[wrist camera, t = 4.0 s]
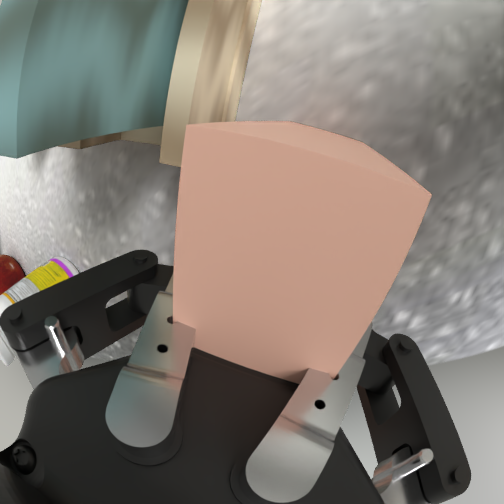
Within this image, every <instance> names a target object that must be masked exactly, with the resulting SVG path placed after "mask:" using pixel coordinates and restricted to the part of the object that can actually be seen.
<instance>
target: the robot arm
mask: <svg viewBox="0 0 504 504" xmlns="http://www.w3.org/2000/svg"><path fill="white" fill-rule="evenodd" d="M173 273H174V266H168V265H161V264H158V258H157V256H156V254H154V253H153V252H151V251H148V250H135V251H132V252H129V253H127V254H124V255H122V256H119V257H117V258H114V259H112V260H110V261H107V262H105V263H102V264H100V265H98V266H95V267H93V268H91V269H88V270H86V271H84V272H81V273H79V274H77V275H75V276H72V277H70V278H68V279H66V280H63V281H61V282H59V283H57V284H54V285H52V286H50V287H48V288H46V289H44V290H41V291H39V292H37V293H35V294H33V295H31V296H29V297H26V298H24V299H22V300H20V301H18V302H16V303H14V304H12V305H10V306H8V307H7V308H6V309H5V310H4V311H3V312H2V314H1V316H0V327H1V329H2V331H3V332H4V334H5V336H6V338H7V340H8V343H9V345H10V347H11V349H12V350H13V352H14V354H15V355H16V357H17V359H18V360H19V361H20V363H21V365H22V366H23V368H24V370H25V373H26V375H27V377H28V379H29V381H30V383H31V385H32V387H33V389H34V390H33V392H32V394H31V395H30V398H29V400H28V404H27V409H26V414H25V418H24V422H23V425H22V429H21V431H20V433H19V436H18V438H17V439H16V441H15V442H14V443H13V444H12V445H11V446H9V447H8V448H6V449H5V450H3V451H1V452H0V504H439V503H442V502H444V501H447V500H449V499H452V498H454V497H456V496H458V495H460V494H462V493H463V492H465V491H466V489H467V488H468V486H469V484H470V480H471V470H470V467H469V464H468V461H467V458H466V455H465V452H464V449H463V446H462V444H461V441H460V438H459V435H458V433H457V430H456V428H455V425H454V423H453V420H452V418H451V416H450V413H449V411H448V408H447V406H446V404H445V402H444V399H443V397H442V395H441V393H440V390H439V388H438V386H437V384H436V382H435V380H434V378H433V376H432V374H431V372H430V370H429V368H428V366H427V364H426V362H425V360H424V358H423V356H422V354H421V352H420V350H419V348H418V346H417V345H416V343H415V342H414V341H413V340H412V339H411V338H409V337H408V336H406V335H403V334H394V335H392V336H391V337H390V339H389V340H388V339H386V338H384V337H383V336H381V335H379V334H377V333H376V332H374V331H373V330H372V326H373V325H372V321H371V323H370V325H369V326H368V328H367V330H366V331H365V333H364V335H363V336H362V338H361V339H360V341H359V343H358V344H357V346H356V347H355V349H354V350H353V352H352V353H351V355H350V356H349V358H348V359H347V361H346V362H345V364H344V365H343V367H342V368H341V369H340V371H339V372H338V374H337V375H336V376H335V378H334V379H333V380H332V379H331V378H330V376H329V373H326V372H322V371H318V370H315V369H311V368H309V370H308V371H307V373H306V375H305V376H304V378H303V380H302V381H301V383H300V384H298V383H294V382H291V381H287V380H284V379H281V378H278V377H274V376H271V375H268V374H265V373H262V372H259V371H256V370H253V369H250V368H247V367H244V366H242V365H239V364H236V363H233V362H231V361H228V360H225V359H223V358H220V357H217V356H215V355H212V354H210V353H207V352H205V351H202V350H200V349H197V348H195V347H194V344H195V333H196V329H195V328H193V327H190V326H188V325H185V324H183V323H180V322H178V321H177V322H176V323H174V324H173ZM125 291H127V295H128V297H127V298H126V299H124V300H122V301H120V302H118V303H116V304H114V305H112V306H110V307H108V308H106V304H107V302H108V301H109V300H110V299H111V298H113V297H115V296H117V295H119V294H121V293H123V292H125ZM105 308H106V309H105ZM143 325H144V326H143ZM141 326H143V328H142V330H141V333H140V335H139V337H138V340H137V342H136V345H135V347H134V350H133V352H132V355H129V356H126V357H123V358H119V359H116V360H112V361H109V362H106V363H102V364H99V365H95V366H91V367H88V368H84V369H80V368H81V367H82V365H83V362H84V360H85V359H87V358H89V357H90V356H92V355H94V354H96V353H97V352H99V351H101V350H102V349H104V348H106V347H107V346H109V345H111V344H113V343H114V342H116V341H118V340H119V339H121V338H123V337H124V336H126V335H128V334H129V333H131V332H133V331H135V330H136V329H138V328H140V327H141ZM394 385H396V387H397V390H398V392H399V395H400V398H401V406H400V408H399V405H398V403H397V400H396V397H395V395H394V392H393V389H392V387H393V386H394ZM356 387H357V390H358V393H359V397H360V400H361V403H362V407H363V410H364V413H365V417H366V421H367V424H368V428H369V431H370V435H371V439H372V442H373V446H374V450H375V454H376V458H377V462H378V465H377V467H376V468H375V471H374V475H373V478H372V480H371V479H370V477H369V475H368V474H367V472H366V470H365V468H364V467H363V465H362V463H361V462H360V460H359V458H358V456H357V455H356V453H355V451H354V449H353V448H352V446H351V444H350V443H349V441H348V439H347V438H346V436H345V434H344V432H343V430H342V429H341V427H340V425H341V423H342V421H343V419H344V416H345V414H346V412H347V409H348V407H349V404H350V402H351V400H352V397H353V395H354V392H355V389H356Z"/></svg>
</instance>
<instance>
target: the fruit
mask: <svg viewBox="0 0 504 504" xmlns="http://www.w3.org/2000/svg"><path fill="white" fill-rule="evenodd" d="M24 277H25V275H24V272H23V270H22V268H21V267H20V265H19V264H18V262H17V261H16V260H15V259H14V258H12V257H10V256H8V255H0V295H2V294H3V293H4V292H6V291H7V290H8V289H10V288H11V287H12V286H13V285H15V284H16V283H18V282H19V281H20V280H22V279H23V278H24Z"/></svg>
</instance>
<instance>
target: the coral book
mask: <svg viewBox="0 0 504 504" xmlns="http://www.w3.org/2000/svg"><path fill="white" fill-rule="evenodd" d="M431 196H432V194H431V193H430V192H428V191H427V190H426V189H425V188H424V187H422V186H421V185H420V184H419V183H418V182H416V181H415V180H414V179H413V178H411V177H410V176H409V175H408V174H406V173H405V172H404V171H402V170H401V169H400V168H398V167H397V166H396V165H394V164H393V163H392V162H390V161H389V160H388V159H386V158H385V157H383V156H382V155H381V154H379V153H378V152H376V151H375V150H373V149H372V148H371V147H369V146H368V145H366V144H365V143H363V142H360V141H357V140H354V139H351V138H348V137H345V136H342V135H339V134H335V133H332V132H329V131H325V130H322V129H318V128H314V127H311V126H307V125H303V124H299V123H295V122H291V121H234V122H214V123H200V124H188V125H186V131H185V139H184V146H183V154H182V163H181V172H180V181H179V192H178V203H177V216H176V230H175V248H174V273H173V324H174V323H176V322H177V321H178V322H180V323H183V324H185V325H188V326H190V327H193V328H195V329H196V333H195V344H194V347H195V348H197V349H200V350H202V351H205V352H207V353H210V354H212V355H215V356H217V357H220V358H223V359H225V360H228V361H231V362H233V363H236V364H239V365H242V366H244V367H247V368H250V369H253V370H256V371H259V372H262V373H265V374H268V375H271V376H274V377H278V378H281V379H284V380H287V381H291V382H294V383H298V384H300V383H301V381H302V380H303V378H304V376H305V375H306V373H307V371H308V370H309V368H311V369H315V370H318V371H322V372H326V373H329V376H330V378H331V379H332V380H333V379H334V378H335V376H336V375H337V374H338V372H339V371H340V369H341V368H342V367H343V365H344V364H345V362H346V361H347V359H348V358H349V356H350V355H351V353H352V352H353V350H354V349H355V347H356V346H357V344H358V343H359V341H360V339H361V338H362V336H363V335H364V333H365V331H366V330H367V328H368V326H369V325H370V323H371V321H372V320H373V318H374V316H375V315H376V313H377V311H378V309H379V308H380V306H381V304H382V302H383V301H384V299H385V297H386V295H387V293H388V291H389V290H390V288H391V286H392V284H393V282H394V280H395V278H396V276H397V274H398V272H399V270H400V268H401V266H402V264H403V262H404V260H405V258H406V256H407V254H408V251H409V249H410V247H411V245H412V243H413V240H414V238H415V236H416V234H417V231H418V229H419V227H420V224H421V222H422V219H423V217H424V214H425V212H426V209H427V207H428V204H429V201H430V199H431Z"/></svg>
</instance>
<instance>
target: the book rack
mask: <svg viewBox="0 0 504 504" xmlns="http://www.w3.org/2000/svg"><path fill="white" fill-rule="evenodd" d="M261 2H262V0H2V3H1V6H0V155H1V156H6V157H12V158H20V157H23V156H26V155H29V154H32V153H35V152H39V151H42V150H45V149H49V148H52V147H56V146H59V147H67V148H75V149H83V148H87V147H91V146H95V145H99V144H103V143H107V142H112V141H116V140H127V141H134V142H141V143H148V144H154V145H161V150H160V160H159V163H163V164H167V165H172V166H177V167H181V163H182V154H183V146H184V139H185V131H186V125H188V124H200V123H214V122H234V121H235V119H236V114H237V109H238V104H239V99H240V94H241V89H242V84H243V79H244V75H245V70H246V65H247V61H248V56H249V52H250V47H251V43H252V39H253V34H254V30H255V26H256V22H257V18H258V14H259V10H260V6H261Z"/></svg>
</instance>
